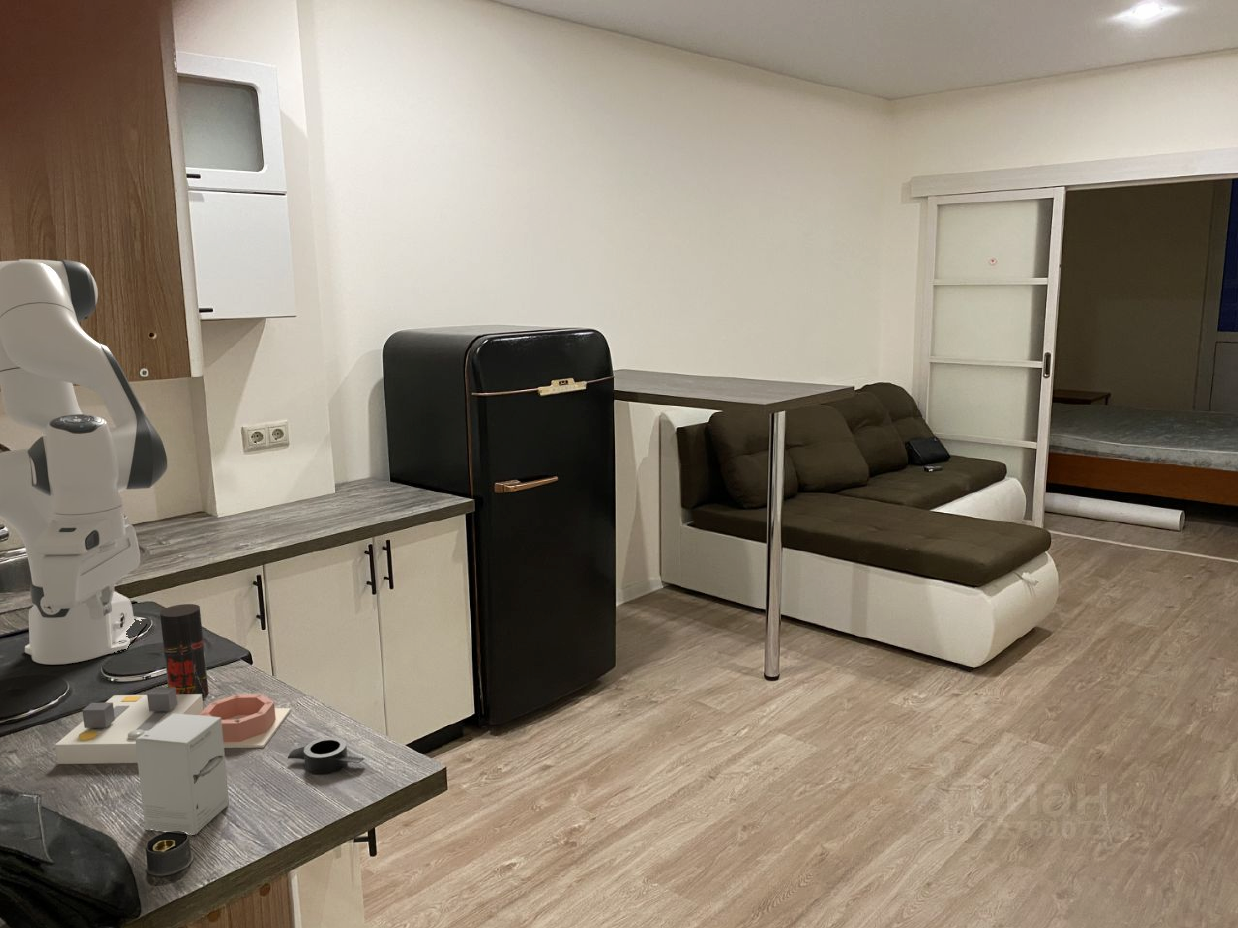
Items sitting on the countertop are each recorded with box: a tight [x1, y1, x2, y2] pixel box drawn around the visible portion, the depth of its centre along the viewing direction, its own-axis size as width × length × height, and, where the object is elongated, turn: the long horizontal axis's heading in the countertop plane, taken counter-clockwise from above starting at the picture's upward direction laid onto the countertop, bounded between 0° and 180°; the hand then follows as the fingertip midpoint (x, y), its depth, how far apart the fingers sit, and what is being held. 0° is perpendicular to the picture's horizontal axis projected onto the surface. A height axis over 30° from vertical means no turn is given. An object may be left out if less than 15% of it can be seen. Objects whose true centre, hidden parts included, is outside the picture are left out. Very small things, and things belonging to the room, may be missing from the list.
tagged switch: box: [81, 702, 115, 728], centre depth 136 cm, size 2×3×3 cm
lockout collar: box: [199, 693, 292, 749], centre depth 142 cm, size 12×12×3 cm
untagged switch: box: [146, 686, 177, 711], centre depth 141 cm, size 2×3×3 cm
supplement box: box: [135, 713, 230, 836], centre depth 117 cm, size 7×7×13 cm
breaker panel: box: [54, 694, 205, 765], centre depth 140 cm, size 16×14×4 cm
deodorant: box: [159, 603, 209, 699], centre depth 152 cm, size 6×6×15 cm
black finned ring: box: [287, 736, 365, 776], centre depth 131 cm, size 8×10×3 cm
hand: (101, 616), depth 137 cm, fingers closed
